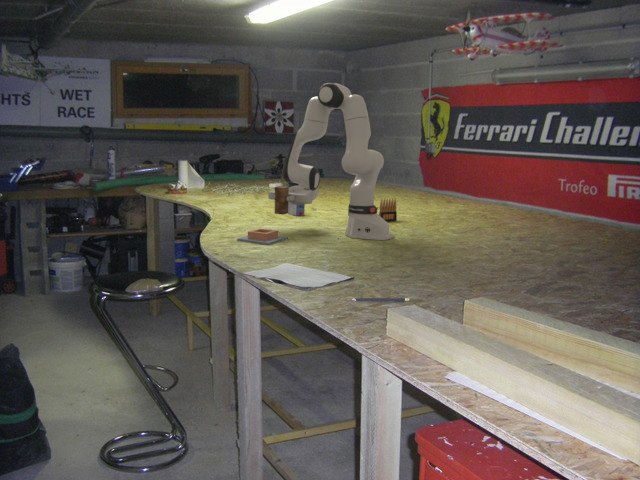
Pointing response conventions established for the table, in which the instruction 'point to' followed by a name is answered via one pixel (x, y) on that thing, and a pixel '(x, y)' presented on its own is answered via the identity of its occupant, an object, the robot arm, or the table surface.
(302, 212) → the ink cartridge box
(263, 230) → the housing
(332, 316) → the table surface
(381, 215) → the ammunition clip
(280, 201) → the wooden post
